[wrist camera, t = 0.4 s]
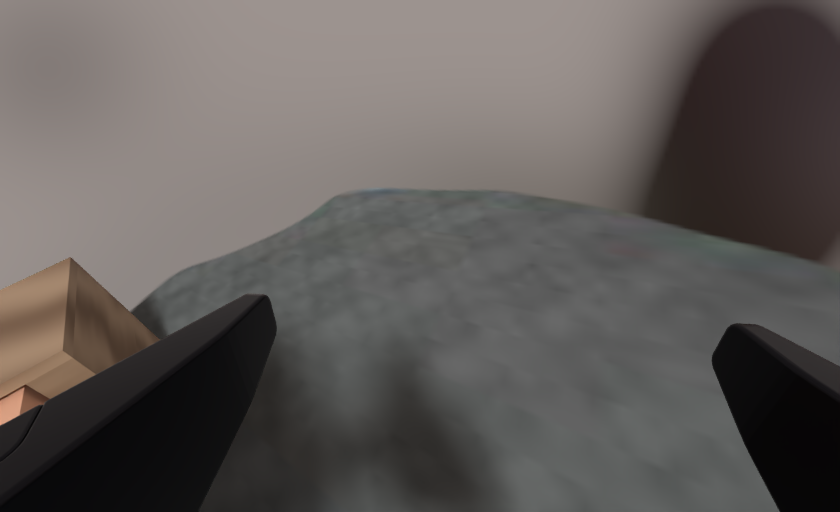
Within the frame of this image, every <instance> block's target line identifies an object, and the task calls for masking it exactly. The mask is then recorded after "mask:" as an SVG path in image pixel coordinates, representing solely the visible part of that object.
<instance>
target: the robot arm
mask: <svg viewBox="0 0 840 512" xmlns="http://www.w3.org/2000/svg"><path fill="white" fill-rule="evenodd" d="M276 331H277V325H276V321H275V317H274V313H273V309H272V305H271V302H270V299H269V297H268V296H267V295H264V294H245V295H243V296H241V297H239V298H238V299H236V300H234V301H232V302H230V303H228V304H226V305H225V306H223V307H221V308H219V309H217V310H215V311H213V312H211V313H210V314H208V315H206V316H204V317H202V318H200V319H198V320H197V321H195V322H193V323H191V324H189V325H187V326H185V327H183V328H182V329H180V330H178V331H176V332H174V333H172V334H170V335H168V336H167V337H165V338H163V339H161V340H159V341H157V342H155V343H154V344H152V345H150V346H148V347H146V348H144V349H142V350H140V351H139V352H137V353H135V354H133V355H131V356H129V357H127V358H125V359H124V360H122V361H120V362H118V363H116V364H114V365H112V366H111V367H109V368H107V369H105V370H103V371H101V372H99V373H97V374H96V375H94V376H92V377H90V378H88V379H86V380H84V381H83V382H81V383H79V384H77V385H75V386H73V387H71V388H69V389H68V390H66V391H64V392H62V393H60V394H58V395H56V396H54V397H53V398H51V399H49V400H47V401H46V402H45V403H44V405H37V406H36V407H34V408H32V409H30V410H28V411H26V412H24V413H23V414H21V415H19V416H17V417H15V418H13V419H12V420H10V421H8V422H6V423H4V424H2V425H0V512H198V511H199V509H200V507H201V505H202V503H203V501H204V499H205V497H206V495H207V493H208V491H209V489H210V487H211V484H212V482H213V480H214V478H215V476H216V474H217V472H218V470H219V468H220V466H221V464H222V462H223V460H224V458H225V456H226V454H227V452H228V450H229V448H230V446H231V443H232V441H233V439H234V437H235V435H236V433H237V431H238V429H239V427H240V425H241V423H242V421H243V419H244V417H245V415H246V413H247V410H248V408H249V406H250V404H251V402H252V399H253V397H254V394H255V392H256V389H257V386H258V383H259V380H260V378H261V375H262V372H263V369H264V367H265V364H266V361H267V358H268V356H269V353H270V350H271V347H272V344H273V342H274V339H275V336H276ZM712 365H713V369H714V371H715V374H716V376H717V379H718V381H719V384H720V386H721V389H722V391H723V393H724V396H725V398H726V401H727V403H728V406H729V408H730V411H731V413H732V416H733V418H734V420H735V423H736V425H737V428H738V430H739V433H740V435H741V437H742V439H743V442H744V444H745V446H746V448H747V450H748V452H749V454H750V456H751V458H752V460H753V462H754V464H755V466H756V468H757V470H758V471H759V473H760V475H761V477H762V479H763V481H764V483H765V485H766V487H767V489H768V490H769V492H770V494H771V496H772V498H773V500H774V502H775V504H776V506H777V508H778V509H779V511H780V512H840V366H838V365H836V364H834V363H832V362H830V361H828V360H826V359H824V358H823V357H821V356H819V355H817V354H815V353H813V352H811V351H809V350H807V349H805V348H803V347H801V346H799V345H797V344H795V343H793V342H791V341H790V340H788V339H786V338H784V337H782V336H780V335H778V334H776V333H774V332H772V331H770V330H768V329H766V328H764V327H762V326H760V325H756V324H741V323H736V324H732V325H730V326H729V327H728V328H727V329H726V331H725V333H724V335H723V337H722V338H721V340H720V342H719V344H718V345H717V347H716V349H715V351H714V353H713V355H712Z"/></svg>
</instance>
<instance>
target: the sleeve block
mask: <svg viewBox="0 0 840 512" xmlns="http://www.w3.org/2000/svg"><path fill="white" fill-rule="evenodd" d="M159 340H160V339H158V338H157V337H156V336H155V335H154V334H153V333H152V332H151V331H150V330H149V329H148V328H147V327H146V326H144V325H143V324H142V323H141V322H140V321H139V320H138V319H137V318H136V317H135V316H134V315H133V314H131V313H130V312H129V311H128V310H127V309H126V308H125V307H124V306H123V305H122V304H121V303H120V302H119V301H117V300H116V299H115V298H114V297H113V296H112V295H111V294H110V293H109V292H108V291H107V290H106V289H104V288H103V287H102V286H101V285H100V284H99V283H98V282H97V281H96V280H95V279H94V278H93V277H92V276H90V275H89V274H88V273H87V272H86V271H85V270H84V269H83V268H82V267H81V266H80V265H79V264H77V263H76V262H75V261H74V260H73V259H72V258H68V259H65V260H63V261H61V262H59V263H57V264H55V265H53V266H51V267H48V268H46V269H44V270H42V271H40V272H38V273H36V274H34V275H31V276H29V277H27V278H25V279H23V280H21V281H19V282H17V283H14V284H12V285H10V286H8V287H6V288H4V289H2V290H0V398H2V397H4V396H5V395H7V394H9V393H11V392H13V391H14V390H16V389H18V388H20V387H22V386H23V385H25V384H26V385H27V386H29V387H31V388H32V389H34V390H36V391H37V392H39V393H41V394H42V395H44V396H46V397H47V398H49V399H51V398H53V397H54V396H56V395H58V394H60V393H62V392H64V391H66V390H68V389H69V388H71V387H73V386H75V385H77V384H79V383H81V382H83V381H84V380H86V379H88V378H90V377H92V376H94V375H96V374H97V373H99V372H101V371H103V370H105V369H107V368H109V367H111V366H112V365H114V364H116V363H118V362H120V361H122V360H124V359H125V358H127V357H129V356H131V355H133V354H135V353H137V352H139V351H140V350H142V349H144V348H146V347H148V346H150V345H152V344H154V343H155V342H157V341H159Z"/></svg>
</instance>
